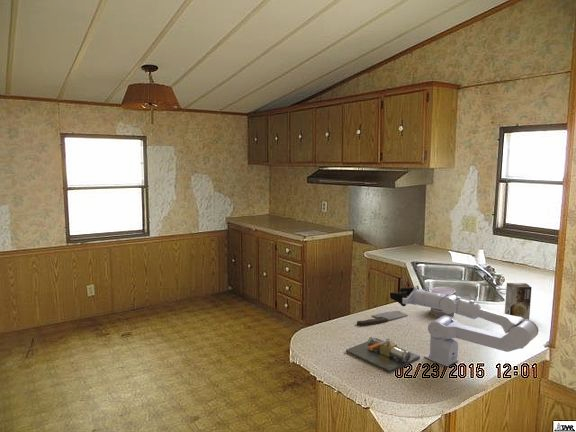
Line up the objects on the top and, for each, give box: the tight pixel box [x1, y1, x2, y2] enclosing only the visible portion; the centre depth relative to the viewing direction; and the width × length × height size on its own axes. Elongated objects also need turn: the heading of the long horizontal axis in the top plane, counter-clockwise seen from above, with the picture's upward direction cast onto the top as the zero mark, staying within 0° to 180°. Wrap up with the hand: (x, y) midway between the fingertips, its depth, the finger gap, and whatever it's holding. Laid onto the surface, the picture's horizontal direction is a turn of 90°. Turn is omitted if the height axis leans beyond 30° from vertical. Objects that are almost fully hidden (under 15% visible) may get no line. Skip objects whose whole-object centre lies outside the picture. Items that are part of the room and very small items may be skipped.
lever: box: [369, 338, 393, 351], centre depth 161 cm, size 12×2×1 cm, turn 129°
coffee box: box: [504, 282, 532, 320], centre depth 205 cm, size 9×6×16 cm
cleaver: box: [356, 310, 408, 327], centre depth 204 cm, size 30×10×2 cm, turn 123°
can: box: [430, 286, 457, 318], centre depth 210 cm, size 11×11×12 cm
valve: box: [345, 336, 421, 374], centre depth 166 cm, size 21×18×6 cm
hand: (395, 292), depth 175 cm, fingers open, 7 cm apart
